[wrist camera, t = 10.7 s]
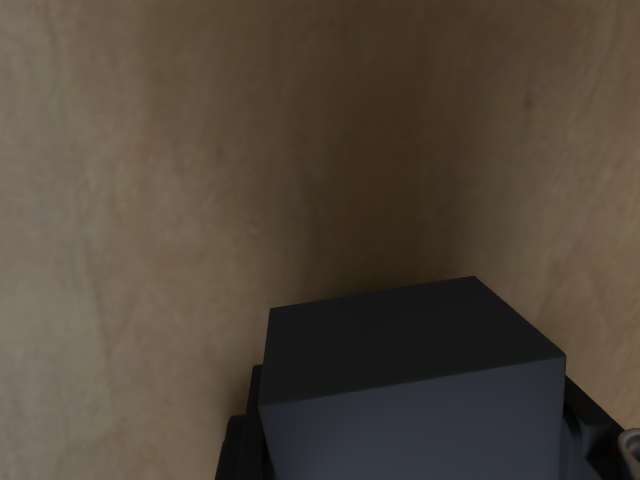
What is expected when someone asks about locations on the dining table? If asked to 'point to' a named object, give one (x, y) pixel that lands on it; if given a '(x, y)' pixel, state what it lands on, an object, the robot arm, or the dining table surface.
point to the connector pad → (411, 388)
